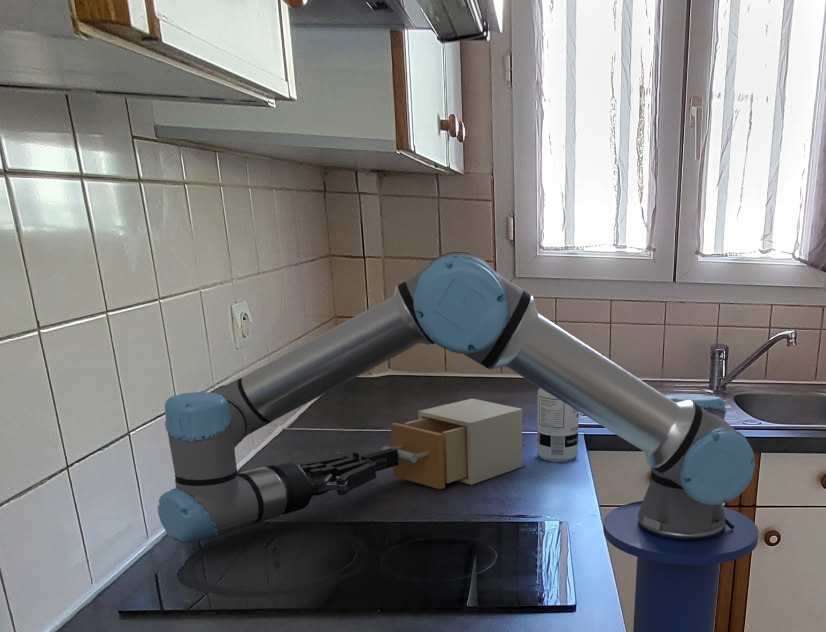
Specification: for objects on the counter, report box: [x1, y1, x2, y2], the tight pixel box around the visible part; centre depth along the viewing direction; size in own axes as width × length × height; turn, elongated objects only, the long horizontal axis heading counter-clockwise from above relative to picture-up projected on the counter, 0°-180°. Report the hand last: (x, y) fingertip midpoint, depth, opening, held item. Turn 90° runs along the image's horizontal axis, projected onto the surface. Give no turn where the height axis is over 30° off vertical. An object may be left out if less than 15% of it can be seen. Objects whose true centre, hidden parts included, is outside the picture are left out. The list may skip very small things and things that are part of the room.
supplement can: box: [536, 387, 580, 463], centre depth 167 cm, size 8×8×15 cm
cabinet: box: [417, 398, 523, 486], centre depth 157 cm, size 15×13×12 cm
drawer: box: [381, 417, 468, 490], centre depth 149 cm, size 18×11×10 cm, turn 150°
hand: (394, 456), depth 141 cm, fingers closed
